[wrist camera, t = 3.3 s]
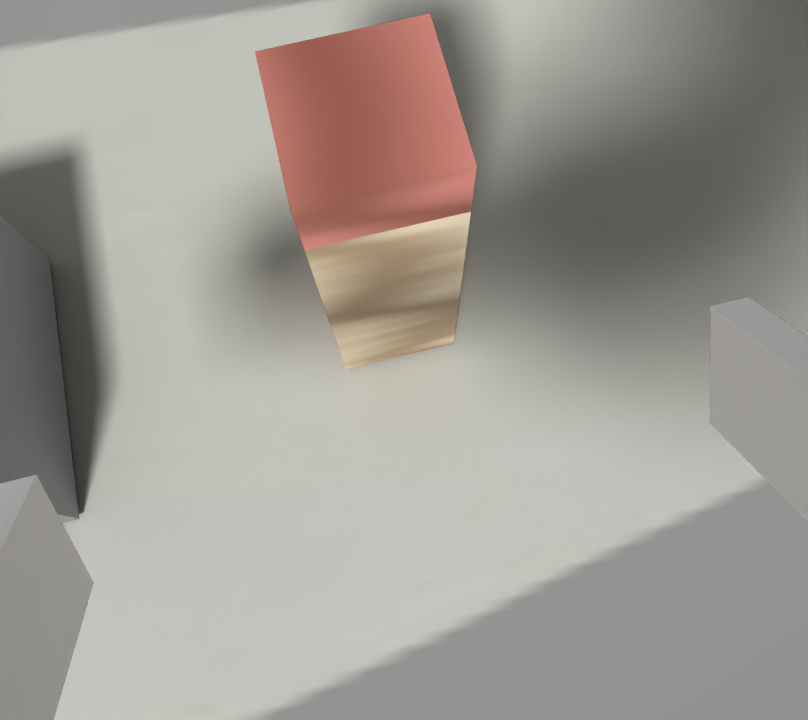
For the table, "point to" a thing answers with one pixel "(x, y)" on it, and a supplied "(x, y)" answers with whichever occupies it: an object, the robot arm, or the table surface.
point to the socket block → (32, 375)
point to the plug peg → (375, 181)
